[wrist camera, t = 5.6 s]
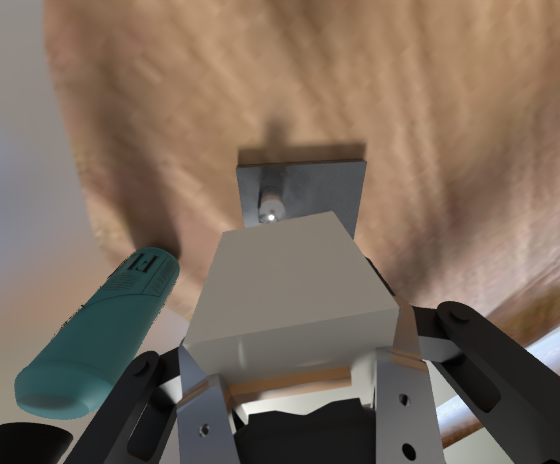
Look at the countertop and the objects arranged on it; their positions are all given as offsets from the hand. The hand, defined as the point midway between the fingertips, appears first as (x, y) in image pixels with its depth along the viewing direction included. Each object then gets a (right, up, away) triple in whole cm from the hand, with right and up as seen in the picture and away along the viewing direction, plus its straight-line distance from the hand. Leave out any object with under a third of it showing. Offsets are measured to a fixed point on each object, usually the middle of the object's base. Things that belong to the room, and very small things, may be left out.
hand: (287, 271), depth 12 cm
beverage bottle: (-17, -1, +17) cm, 24 cm away
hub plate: (+2, +3, +15) cm, 15 cm away
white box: (0, 0, +1) cm, 1 cm away
